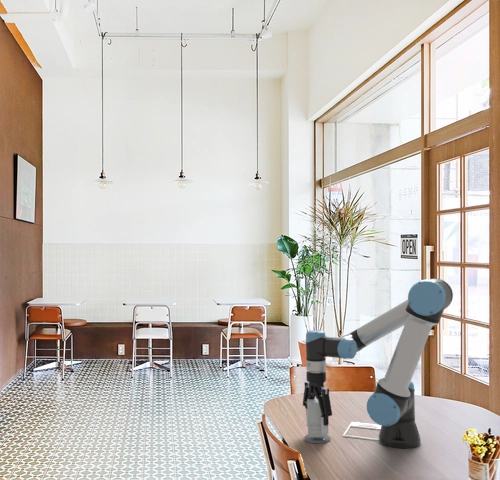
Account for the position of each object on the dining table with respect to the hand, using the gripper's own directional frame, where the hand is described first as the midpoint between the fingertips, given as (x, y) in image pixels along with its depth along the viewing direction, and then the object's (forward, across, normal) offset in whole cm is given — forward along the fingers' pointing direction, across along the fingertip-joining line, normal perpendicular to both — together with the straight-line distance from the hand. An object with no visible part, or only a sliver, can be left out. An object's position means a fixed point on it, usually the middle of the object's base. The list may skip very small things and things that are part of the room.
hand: (317, 429), depth 196 cm
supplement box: (+2, 0, 0) cm, 2 cm away
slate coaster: (+4, 0, 0) cm, 4 cm away
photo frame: (+4, +2, +22) cm, 22 cm away
